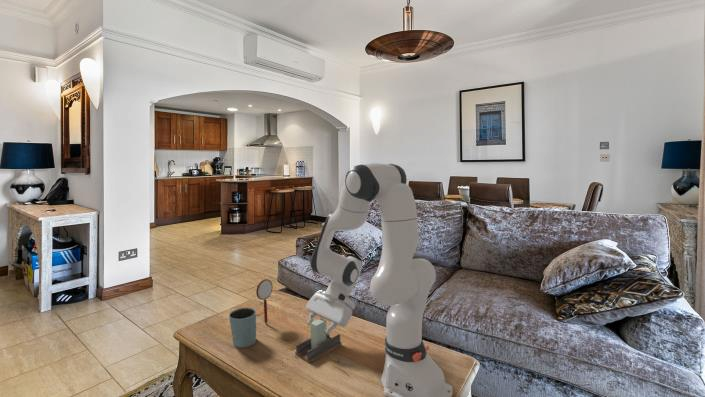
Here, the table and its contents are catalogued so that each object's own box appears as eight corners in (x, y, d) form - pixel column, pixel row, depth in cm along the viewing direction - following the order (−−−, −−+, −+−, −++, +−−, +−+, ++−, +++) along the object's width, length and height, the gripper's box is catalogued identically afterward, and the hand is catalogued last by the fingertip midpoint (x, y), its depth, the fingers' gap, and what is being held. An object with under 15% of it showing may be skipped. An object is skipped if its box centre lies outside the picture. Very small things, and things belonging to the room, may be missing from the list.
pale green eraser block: (326, 346, 132) (326, 320, 131) (316, 351, 128) (316, 325, 127) (321, 343, 134) (320, 318, 133) (311, 348, 130) (310, 323, 129)
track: (341, 345, 134) (341, 335, 134) (309, 363, 123) (309, 352, 122) (327, 337, 140) (327, 328, 139) (295, 354, 128) (294, 344, 128)
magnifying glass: (259, 328, 147) (257, 283, 145) (257, 327, 148) (254, 282, 146) (274, 320, 155) (273, 277, 152) (272, 319, 156) (270, 276, 153)
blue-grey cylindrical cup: (257, 347, 134) (255, 317, 132) (229, 350, 131) (227, 320, 130) (257, 333, 143) (256, 306, 142) (231, 337, 141) (230, 309, 139)
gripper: (313, 285, 141) (295, 316, 135) (350, 299, 127) (331, 335, 121) (322, 292, 145) (304, 323, 139) (359, 307, 131) (341, 342, 125)
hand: (317, 329), depth 130 cm, fingers open, 8 cm apart
